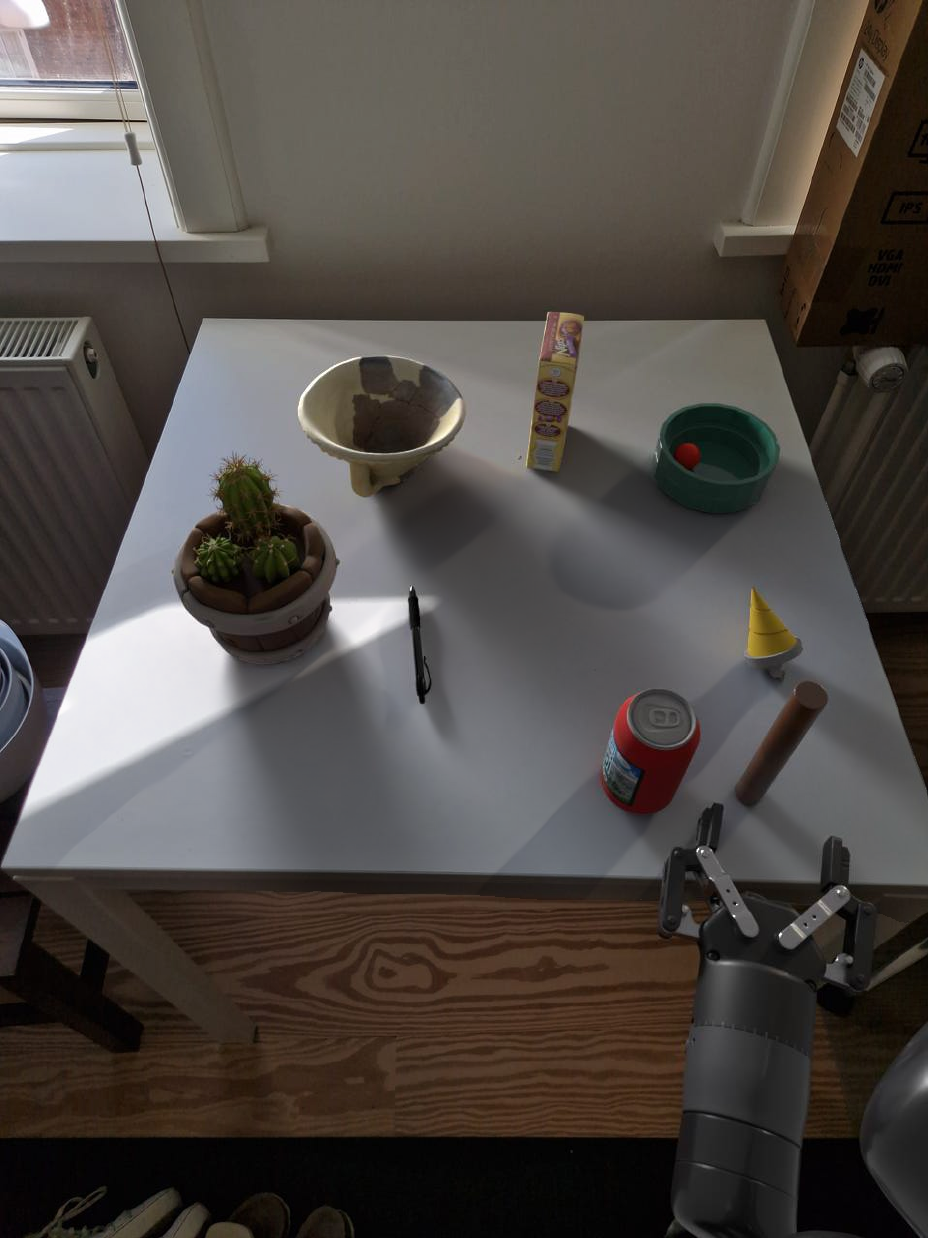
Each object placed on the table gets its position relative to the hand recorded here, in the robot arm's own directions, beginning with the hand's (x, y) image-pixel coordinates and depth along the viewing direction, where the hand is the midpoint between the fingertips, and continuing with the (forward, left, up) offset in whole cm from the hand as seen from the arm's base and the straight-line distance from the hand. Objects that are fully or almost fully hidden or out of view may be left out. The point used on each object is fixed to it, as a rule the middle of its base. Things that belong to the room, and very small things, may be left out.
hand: (773, 823), depth 64 cm
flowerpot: (+48, -11, -10) cm, 50 cm away
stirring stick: (0, -7, -10) cm, 12 cm away
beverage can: (+10, -5, -10) cm, 15 cm away
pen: (+33, -13, -10) cm, 37 cm away
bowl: (+45, -36, -10) cm, 59 cm away
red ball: (+12, -46, -8) cm, 48 cm away
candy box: (+28, -45, -10) cm, 54 cm away
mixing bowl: (+9, -46, -10) cm, 48 cm away
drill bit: (+1, -22, -10) cm, 24 cm away
